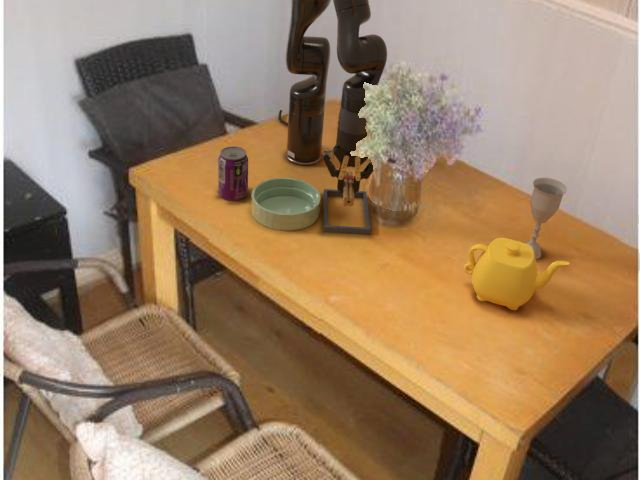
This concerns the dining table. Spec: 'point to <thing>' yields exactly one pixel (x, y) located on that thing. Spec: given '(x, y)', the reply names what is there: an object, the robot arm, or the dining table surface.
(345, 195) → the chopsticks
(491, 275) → the teapot
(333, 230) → the tray
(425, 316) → the dining table surface
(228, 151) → the beverage can
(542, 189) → the chalice
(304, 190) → the bowl
